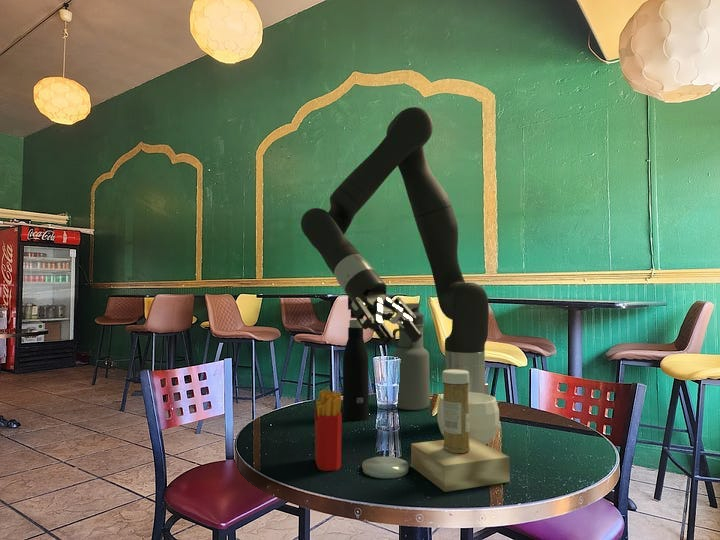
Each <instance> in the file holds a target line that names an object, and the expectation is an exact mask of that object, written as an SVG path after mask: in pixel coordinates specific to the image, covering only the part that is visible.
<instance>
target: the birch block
mask: <svg viewBox="0 0 720 540" xmlns="http://www.w3.org/2000/svg"><path fill="white" fill-rule="evenodd" d="M469 446H470V450H469V451H468V452H466V453H451V452H448V451H446V450H445V449H444V439H438V440H430V441H422V442H413V443H411V445H410V451H411V452H410V453H411V456H410V457H411V458H410V461H411V467H412V468H413V469H414V470H416V471H417V472H418V473H419V474H420V475H422V476H423V477H424V478H426V479H427V480H428V481H430V482H431V483H432V484H434V485H435V486H437V487H438V488H439V489H440V490H442V491H443V492H445V493H446V492H452V491H453V492H454V491H459V490H466V489H472V488H478V487H485V486H492V485H497V484H498V485H499V484H503V483H510V482H511V479H510V478H511V476H510V475H511V471H510V470H511V469H510V468H511V467H510V462H511V461H510V456H508V455H507V454H505V453H503V452H501V451H500V450H499V451H498V450H497V449H495V448H492V447H491V446H489V445H488V444H483V443H481V442H479V441H477V440H475V439H473V438H471V437H469Z"/></svg>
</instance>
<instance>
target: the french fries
mask: <svg viewBox="0 0 720 540" xmlns="http://www.w3.org/2000/svg"><path fill="white" fill-rule="evenodd" d="M318 393H319V397H318V398H317V399H316V402H315V405H316V406H315V407H314V434H315V435H314V439H315V440H314V441H315V444H314V445H315V446H314V447H315V448H314V449H315V450H314V453H315V454H314V455H315V457H314V458H315V464H316V466H317V468H318V470H321V471H324V472H328V471H329V472H331V471H339V469H341V468H340V467H342V424H343V421H342V420H343V412H341V409H342V408H341V405H342V392H340V391H335V390H333V391H331V389H329V390H328V389H321V390H320V391H318Z"/></svg>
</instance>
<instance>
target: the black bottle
mask: <svg viewBox="0 0 720 540" xmlns="http://www.w3.org/2000/svg"><path fill="white" fill-rule="evenodd" d="M352 303H353V302H352V301H351V300H350V298H349V297H348V296H347V310H349V311H350V320H349V321H348V323H349V325H348V328H347V341H346V344H345V347H344V351H343V356H342V420H345V421H349V422H350V421H351V422H361V420H362V421H366V420H368V419H369V418H370V416H369V415H370V411H369V409H370V403H369V402H370V401H369V400H370V399H369V397H370V395H369V394H370V393H369V390H370V388H369V387H370V385H369V384H370V382H369V378H370V377H369V376H370V375H369V372H370V371H369V370H370V369H369V366H370V365H369V363H370V362H369V354H368V348H367V345H366V343H365V339H364V329H363V328H362V326H361V325H360V323H359V322H358V320H357V319H356V317H355V316H354V314H353V313H352V311H351V310H350V308H349V307H350V305H351V304H352Z"/></svg>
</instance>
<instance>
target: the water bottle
mask: <svg viewBox="0 0 720 540" xmlns="http://www.w3.org/2000/svg"><path fill="white" fill-rule="evenodd" d="M404 303H405V304H406V305H407V306H408V308H409V309H410V310H411V311H412V312H413V313H414V315H415V316H416V318H415V319H414V320H413V324H414V325H415V327H416V328H417V329H418V330H419V332H420V333H421V335H422V336H421V338H420V339H419V340H418V341H417V342H413V341H412V340H411V339H410V337H409V336H408V335H407V334H406V332H405V331H404V330H403V329H404V328H402V327H401V326H399V325H398V324H397V326H398V328H394V329H393V330H392V335H393V336H394V340H393V342H392V345H393V347H394V348H396V349H395V350H394V352H393V357H398V358H400V359H401V363H400V383H399V393H398V404H397V407H396V408H397V409H399V410H405V411H422V410H425V409H427V408H429V407H430V404H431V403H430V402H431V401H430V399H431V397H430V395H431V394H430V393H431V392H430V390H431V389H430V353H429V351H428V350H427V349H425V348H424V326H425V325H424V323H425V322H424V321H425V320H424V318H425V314H423V313H422V312H421V313H420V309H419V308H420V306H421V303H419V302H417V303H416V302H413V303H411V302H410V303H406V302H404ZM406 314H407V313H406ZM407 315H408V314H407ZM408 316H409V315H408ZM399 320H400V321H402V320H401V318H399ZM402 322H403V321H402ZM397 332H398V342H399V343H398V344H397V341H396V340H397V338H396V337H397ZM393 357H392V358H393Z"/></svg>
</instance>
